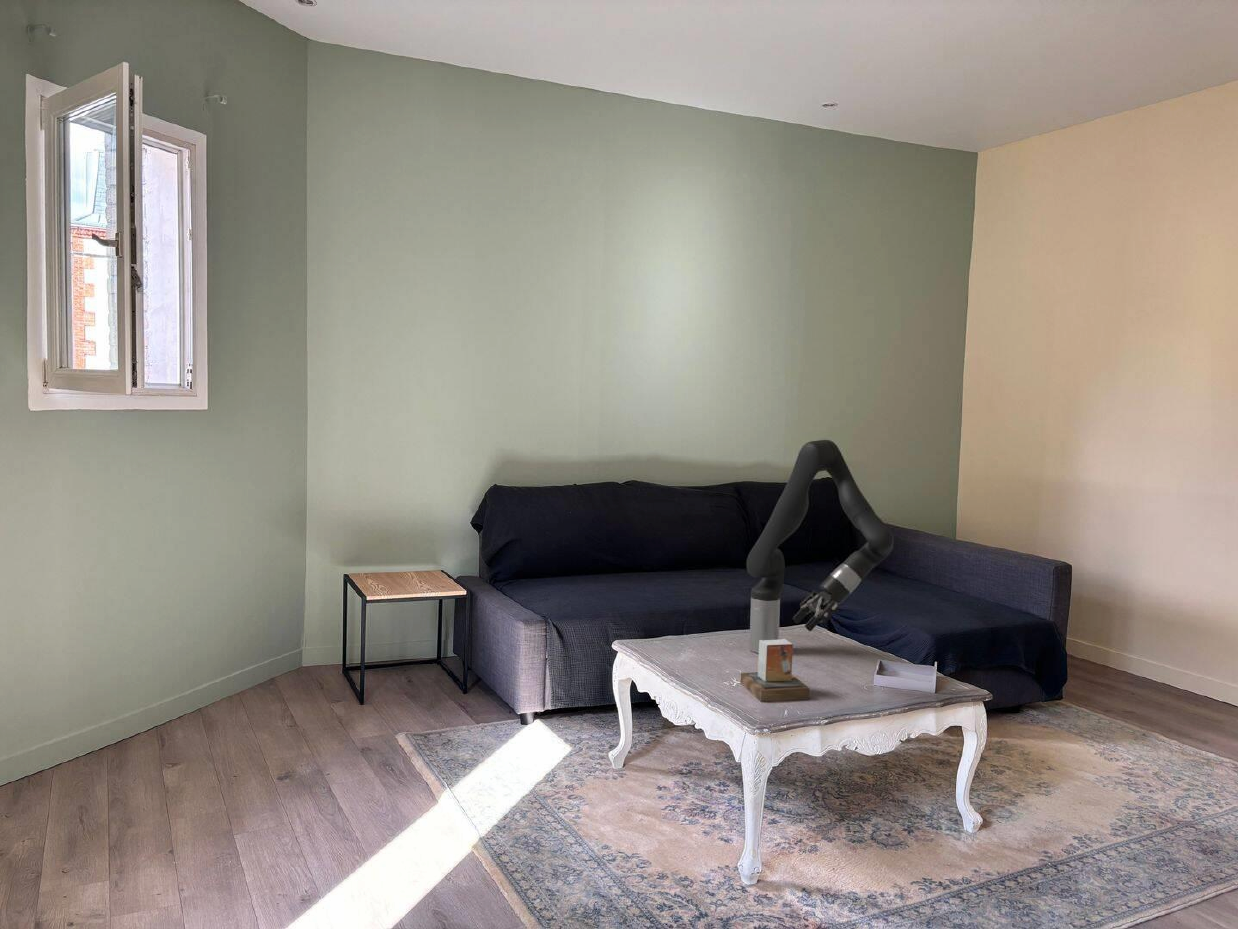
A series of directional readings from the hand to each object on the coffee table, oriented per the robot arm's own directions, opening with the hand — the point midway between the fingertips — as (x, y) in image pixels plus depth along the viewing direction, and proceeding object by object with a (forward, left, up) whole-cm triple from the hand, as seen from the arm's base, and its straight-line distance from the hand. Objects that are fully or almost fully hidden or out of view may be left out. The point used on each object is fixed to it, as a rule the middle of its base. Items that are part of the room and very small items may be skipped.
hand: (801, 625), depth 263 cm
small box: (0, -7, -15) cm, 17 cm away
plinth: (0, -7, -18) cm, 20 cm away
